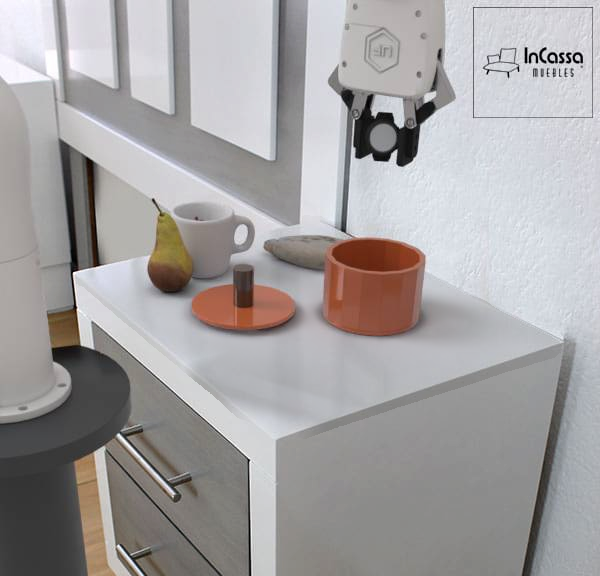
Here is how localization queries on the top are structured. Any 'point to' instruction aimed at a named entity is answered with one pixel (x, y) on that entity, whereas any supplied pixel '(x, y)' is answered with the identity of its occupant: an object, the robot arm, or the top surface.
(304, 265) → the decorative stone
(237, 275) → the lid
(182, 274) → the fruit
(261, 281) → the top surface
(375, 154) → the smartwatch
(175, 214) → the cup
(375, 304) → the pot
